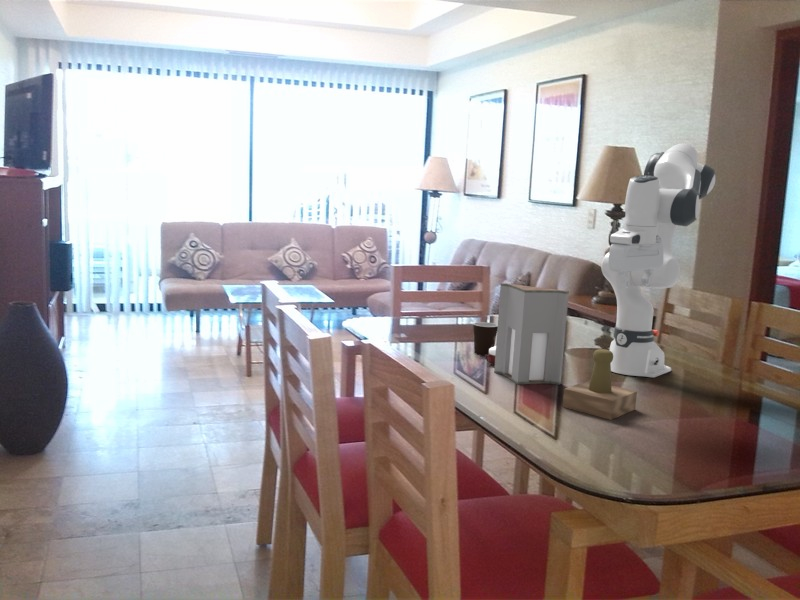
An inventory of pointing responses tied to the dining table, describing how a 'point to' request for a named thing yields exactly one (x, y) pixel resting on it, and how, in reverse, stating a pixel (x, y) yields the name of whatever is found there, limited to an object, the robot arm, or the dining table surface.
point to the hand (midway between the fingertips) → (634, 286)
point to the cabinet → (531, 334)
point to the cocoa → (491, 355)
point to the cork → (601, 371)
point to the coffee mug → (484, 337)
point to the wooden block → (599, 400)
